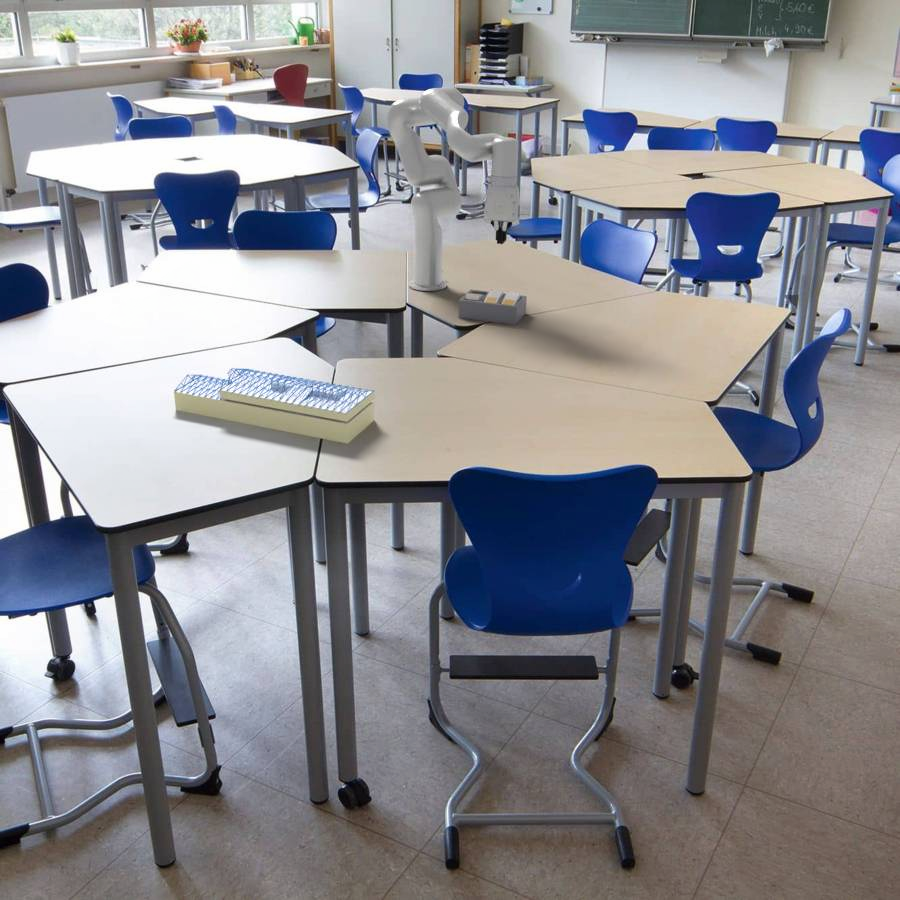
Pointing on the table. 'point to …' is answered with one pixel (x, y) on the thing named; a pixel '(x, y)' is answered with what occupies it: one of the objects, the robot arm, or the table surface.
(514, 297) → the rocker outlet
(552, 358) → the table surface
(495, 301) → the outlet rocker
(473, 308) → the grey storage tray
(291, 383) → the keyboard
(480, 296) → the outlet rocker
